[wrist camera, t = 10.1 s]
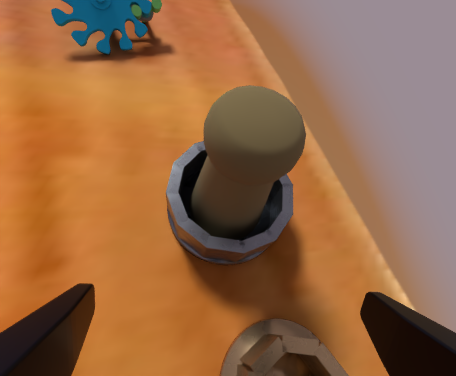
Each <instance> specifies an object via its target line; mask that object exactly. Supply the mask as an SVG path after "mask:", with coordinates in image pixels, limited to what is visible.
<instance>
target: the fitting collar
mask: <svg viewBox="0 0 456 376" xmlns="http://www.w3.org/2000/svg"><path fill="white" fill-rule="evenodd" d="M207 156H208V154H207V152H206V149H205V145H204V141H202V142H198V143H195V144H194V145H193V146H191V147H190V148H189V149H188V150H187V151H186V152H185V153H184V154H183V155H182V156H181V157H179V158H178V159H177V160H176V161H175V162H174V163H173V167H172V171H171V175H170V179H169V182H168V186H167V190H166V198H167V211H168V219H169V223H170V226H171V229H172V231H173V233H174V235H175V237H176V238H177V240H178V241H179V242H180V243H181V245H182V246H183V247H184V248H185V249H186V250H187V251H189V252H190V253H191V254H193V255H194V256H196V257H198V258H200V259H202V260H204V261H207V262H209V263H214V264H219V265H235V264H240V263H244V262H246V261H249V260H251V259H253V258H255V257H257V256H258V255H260V254H261V253H262V252H263V251H265V250H266V249H267V248H268V247H269V246H270V245H271V244H272V243H273V242H274V241H276V239H277V238H278V236H279V235H280V233H281V232H282V230H283V229H284V227H285V226H286V224H287V223H288V221H289V220H290V218H291V217H292V215H293V184H292V183H291V181H290V179H289V177H288V176H287V174H285V175H284V176H283V177H281V178H280V179H278V180H276V181H275V182H274V183H273V186H272V188H271V191H270V193H269V196H268V199H267V201H266V204H265V206H264V209H263V212H262V214H261V217H260V219H259V222H258V223H257V225H256V227H255V228H254V230H253V231H252V232H251V233H249V234H248V235H247V236H246V237H244V238H241V239H238V240H233V239H227V238H220V237H214V236H211V235H210V234H208V233H207V232H206V231H205V230H203V229H202V228H201V227H199V226H198V225H197V224H196V223H194V222H193V221H192V218H191V215H190V212H189V200H190V197H191V194H192V192H193V189H194V187H195V184H196V182H197V180H198V177H199V175H200V172H201V170H202V168H203V165H204V163H205V160H206V158H207Z"/></svg>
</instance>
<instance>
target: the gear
mask: <svg viewBox="0 0 456 376" xmlns="http://www.w3.org/2000/svg"><path fill="white" fill-rule="evenodd" d="M62 1H64V2H66V3H67V4H69V5H70V6H72V7H73V13H72V14H66V13H64V12H63V11H61V10H60V9H56V8H55V9H52V10H51V12H52V16H53V19H54V21H55V23H56V24H57V25H58V26H64V25H66V24H67V23H69V22H71V21H80V22H84V23H86V24H87V29H86V30H85V31H73V32H72V34H71V36H72V37H73V39H74V40H75V41H76V42H77V43H78V44H79V45H80V46H81V47H82V46H85V45H86V43H87V40H88V38H89V36H90V35H91V34H93V33H94V32H97V31H102V32H103V33H104V34H105V38H104V39H103V40H101V41H99V42H98V43H97V50H98V51H100V52H102V53H104V54H108V55H109V54H110V51H111V49H110V45H109V40H110V37H111V35H112V33H113V31H115V30H118V31H120V32H121V33H122V38H121V40H120V42H119V44H120V48H121V50H131V49H132V42H131V41H130V39H129V38H128V36H127V34H126V31H125V22H126V21H132V22H133V23H134V25H135V33H136V35H137V36H138V37H139V38H141V37H143V36H144V35H145V34H146V32H147V30H148V29H147V27H146V25H145V24H143V23H141V22H140V21H142V22H144V23H146V22H148V21H150V20H151V19H152V17H153V12H155V13H158V12H159V11H160V9H161V6H162V3H161V0H152V3H151V2H150V1H149V0H62ZM138 20H140V21H138Z"/></svg>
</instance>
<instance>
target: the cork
mask: <svg viewBox="0 0 456 376" xmlns="http://www.w3.org/2000/svg"><path fill="white" fill-rule="evenodd" d="M305 137H306V133H305V127H304V123H303V119H302V116H301V114H300V113H299V111H298V109H297V108H296V106H295V105H294V104H293V103H292V102H291V101H290V100H288V99H287V98H286V97H285V96H283V95H281V94H279V93H278V92H276V91H274V90H271V89H268V88H265V87H260V86H250V85H249V86H242V87H237V88H234V89H232V90H230V91H228V92H226V93H225V94H223V95H222V96H221V97H220V98H219V99H218V100H217V101H216V102H215V103H214V104H213V105H212V107H211V109H210V111H209V113H208V115H207V118H206V120H205V122H204V145H205V149H206V152H207V154H208V156H207V158H206V160H205V163H204V165H203V168H202V170H201V172H200V175H199V177H198V180H197V182H196V184H195V187H194V189H193V192H192V194H191V197H190V200H189V212H190V215H191V218H192V221H193V222H194V223H196V224H197V225H198V226H199V227H201V228H202V229H203V230H205V231H206V232H207V233H208V234H210V235H211V236H214V237H220V238H227V239H233V240H238V239H241V238H244V237H246V236H247V235H248V234H249V233H251V232H252V231H253V230H254V228H255V227H256V225H257V223H258V222H259V219H260V217H261V214H262V212H263V209H264V206H265V204H266V201H267V199H268V196H269V193H270V191H271V188H272V186H273V183H274V182H275V181H276V180H278V179H280V178H281V177H283V176H284V175H285V174H287V173H288V172H290V171H291V170H292V168H293V167H294V166H295V164H296V163H297V161H298V160H299V158H300V156H301V155H302V152H303V149H304V144H305Z"/></svg>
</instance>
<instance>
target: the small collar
mask: <svg viewBox="0 0 456 376" xmlns="http://www.w3.org/2000/svg"><path fill="white" fill-rule="evenodd" d="M220 376H349V375H348V374H347V373H346V372H345V370H344V369H343V368H342V367H341V365H340V364H339V363H338V362H337V360H336V359H335V358H334V356H333V355H332V354H331V353H330V351H329V350H328V349H327V348H326V346H325V345H324V344H323V343H322V342H320V340H319V339H318V338H317V337H316V336H315V335H314V334H313V333H312V332H310V331H309V330H308V329H306V328H305V327H303V326H301V325H299V324H298V323H295V322H292V321H289V320H284V319H267V320H262V321H259V322H257V323H254V324H252V325H251V326H249V327H247V328H246V329H245V330H243V331H242V332H241V333H240V334H239V335H238V336H237V337H236V338H235V340H234V341H233V343H232V344H231V345H230V347H229V349H228V351H227V353H226V355H225V358H224V360H223V363H222V367H221V371H220Z"/></svg>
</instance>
